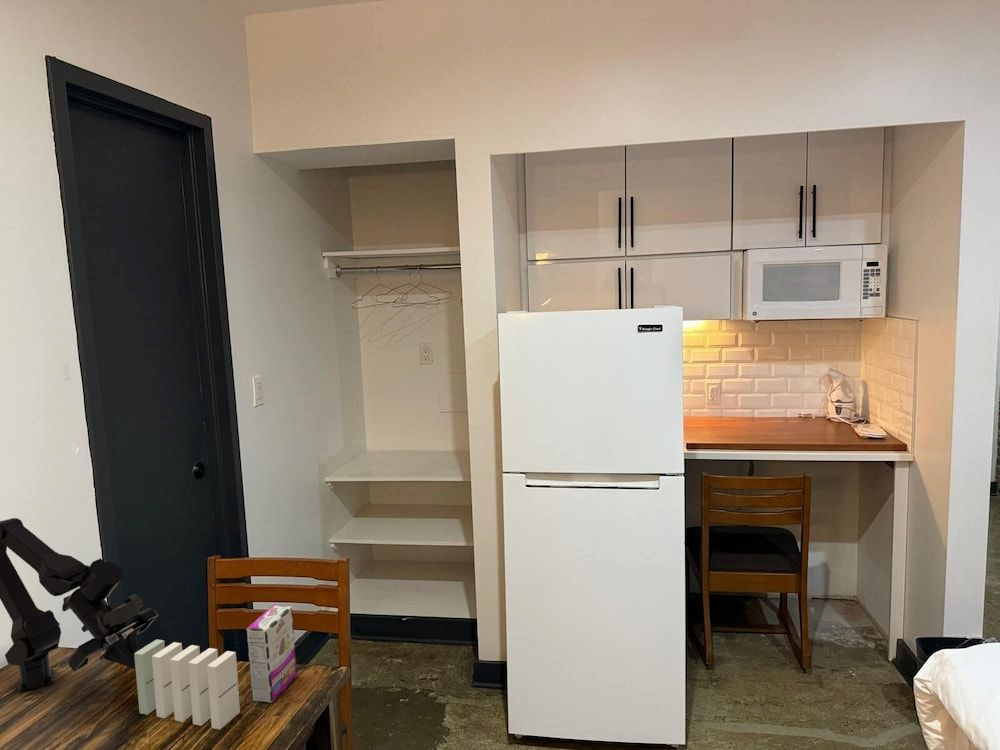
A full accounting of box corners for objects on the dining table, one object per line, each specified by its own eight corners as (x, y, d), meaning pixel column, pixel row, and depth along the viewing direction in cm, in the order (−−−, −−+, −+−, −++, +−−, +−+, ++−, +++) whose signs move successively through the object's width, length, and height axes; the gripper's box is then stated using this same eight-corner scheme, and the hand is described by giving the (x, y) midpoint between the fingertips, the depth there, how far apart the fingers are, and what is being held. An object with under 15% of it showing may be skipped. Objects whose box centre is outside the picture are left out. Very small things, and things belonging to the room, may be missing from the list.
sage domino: (139, 713, 145) (134, 653, 143) (161, 697, 151) (156, 639, 149) (147, 714, 144) (142, 654, 143) (169, 698, 150) (164, 640, 148)
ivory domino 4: (211, 727, 139) (206, 665, 138) (231, 710, 145) (227, 650, 143) (220, 729, 139) (215, 667, 137) (240, 712, 144) (235, 652, 143)
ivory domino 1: (156, 716, 144) (151, 656, 142) (178, 700, 149) (173, 642, 148) (164, 718, 143) (159, 657, 141) (186, 701, 149) (181, 643, 147)
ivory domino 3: (192, 724, 141) (188, 662, 139) (213, 707, 146) (209, 647, 145) (201, 725, 140) (196, 664, 139) (221, 708, 146) (217, 649, 144)
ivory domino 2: (174, 720, 142) (169, 659, 141) (196, 703, 148) (191, 644, 146) (183, 722, 142) (178, 660, 140) (204, 705, 147) (199, 646, 146)
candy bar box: (277, 673, 159) (272, 604, 157) (297, 675, 158) (293, 605, 156) (250, 702, 148) (245, 627, 146) (272, 704, 147) (267, 629, 145)
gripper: (73, 608, 138) (122, 669, 136) (147, 571, 156) (192, 625, 154) (47, 641, 142) (95, 701, 140) (122, 602, 159) (166, 654, 157)
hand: (140, 668), depth 147 cm, fingers closed
